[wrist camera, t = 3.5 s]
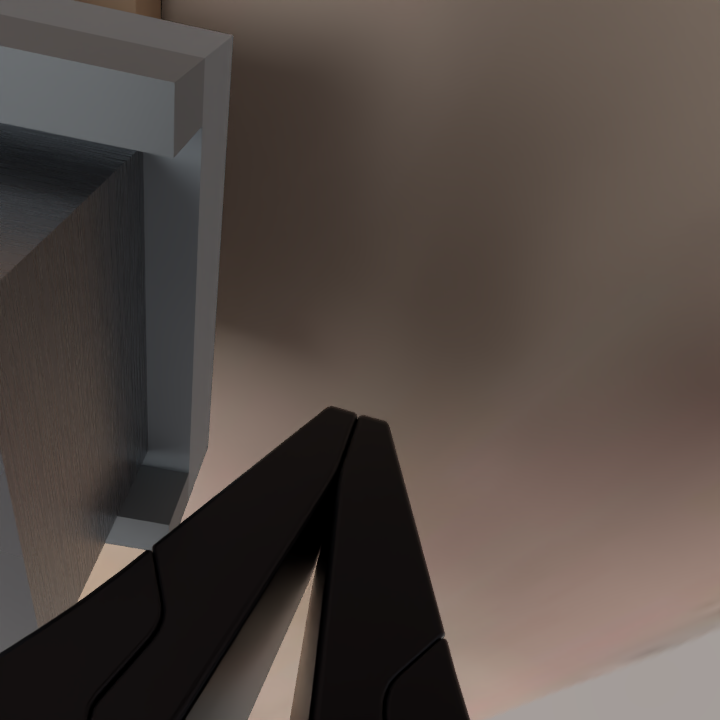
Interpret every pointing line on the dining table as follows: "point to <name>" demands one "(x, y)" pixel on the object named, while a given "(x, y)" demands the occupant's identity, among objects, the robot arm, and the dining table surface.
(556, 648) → the dining table surface
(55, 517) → the block
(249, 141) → the dining table surface
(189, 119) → the beam
